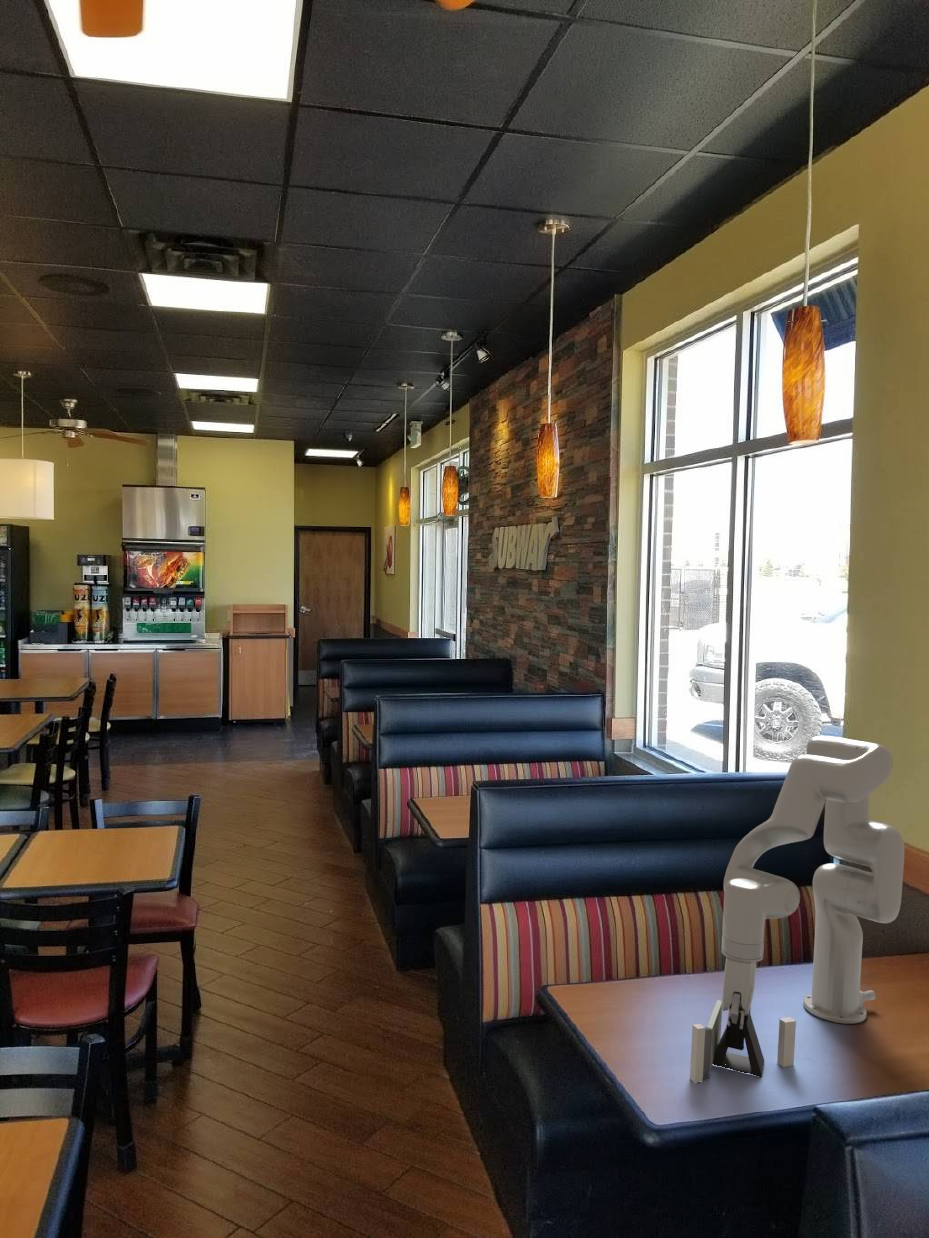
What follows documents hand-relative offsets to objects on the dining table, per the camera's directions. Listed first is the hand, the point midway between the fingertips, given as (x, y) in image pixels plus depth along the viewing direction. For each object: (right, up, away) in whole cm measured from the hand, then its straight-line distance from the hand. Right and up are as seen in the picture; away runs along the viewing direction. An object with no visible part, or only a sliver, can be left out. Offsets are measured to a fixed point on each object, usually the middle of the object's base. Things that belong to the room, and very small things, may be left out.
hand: (737, 1036), depth 168 cm
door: (-5, -5, +1) cm, 7 cm away
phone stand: (0, -6, 0) cm, 6 cm away
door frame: (0, -5, -3) cm, 6 cm away
